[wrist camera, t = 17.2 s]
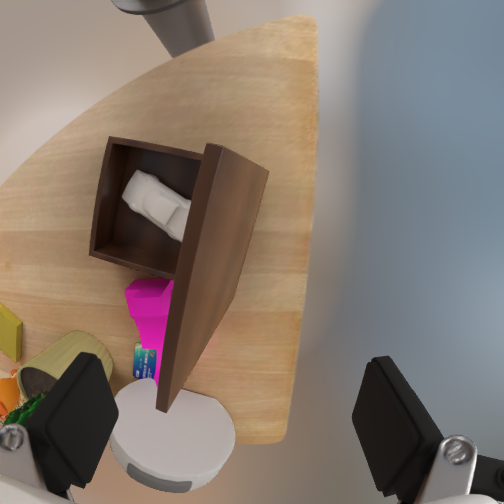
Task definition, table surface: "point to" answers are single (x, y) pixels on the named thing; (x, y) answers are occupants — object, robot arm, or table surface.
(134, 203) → the toy car
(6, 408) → the toy figure
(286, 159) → the table surface
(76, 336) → the potted cactus
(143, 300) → the toy block
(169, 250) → the chest
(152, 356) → the credit card
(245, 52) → the table surface
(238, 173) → the lid
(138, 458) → the alarm clock
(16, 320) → the flat olive board
